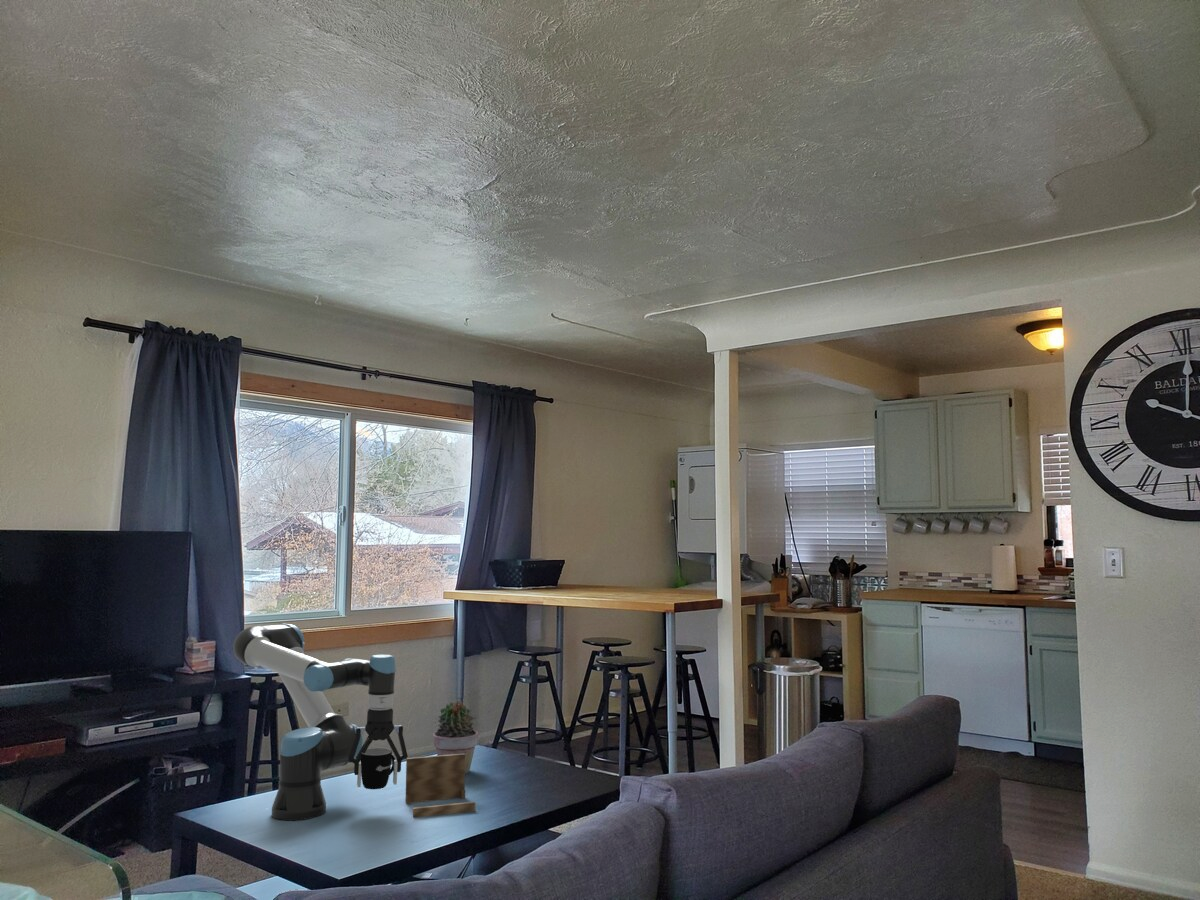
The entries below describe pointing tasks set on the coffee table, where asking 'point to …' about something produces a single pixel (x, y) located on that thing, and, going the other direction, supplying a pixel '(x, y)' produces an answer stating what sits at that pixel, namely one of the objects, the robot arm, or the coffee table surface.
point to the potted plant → (456, 733)
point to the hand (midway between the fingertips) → (376, 784)
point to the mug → (376, 767)
